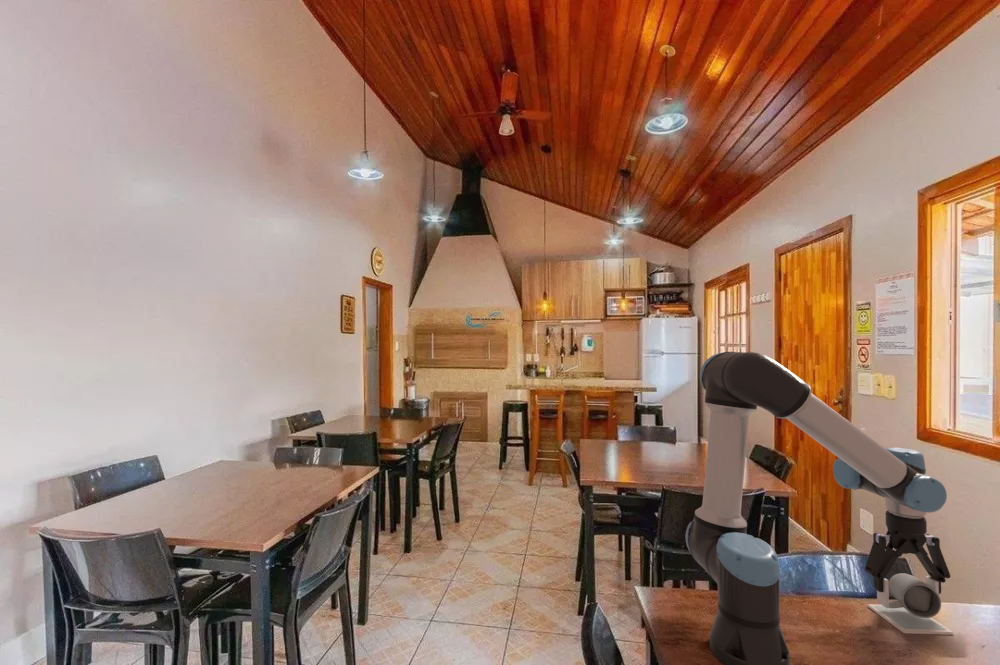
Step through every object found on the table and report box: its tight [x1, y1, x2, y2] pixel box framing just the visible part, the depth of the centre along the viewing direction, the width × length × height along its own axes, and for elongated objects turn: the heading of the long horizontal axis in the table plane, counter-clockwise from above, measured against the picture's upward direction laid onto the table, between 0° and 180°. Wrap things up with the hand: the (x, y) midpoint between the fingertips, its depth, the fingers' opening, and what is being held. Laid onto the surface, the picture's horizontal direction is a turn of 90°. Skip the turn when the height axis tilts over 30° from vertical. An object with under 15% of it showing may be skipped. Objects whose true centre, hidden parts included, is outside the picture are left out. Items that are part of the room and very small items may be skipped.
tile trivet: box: [867, 603, 954, 636], centre depth 111 cm, size 11×11×1 cm
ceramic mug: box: [888, 572, 942, 618], centre depth 112 cm, size 11×8×8 cm
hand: (907, 605), depth 112 cm, fingers closed on ceramic mug, 11 cm apart
